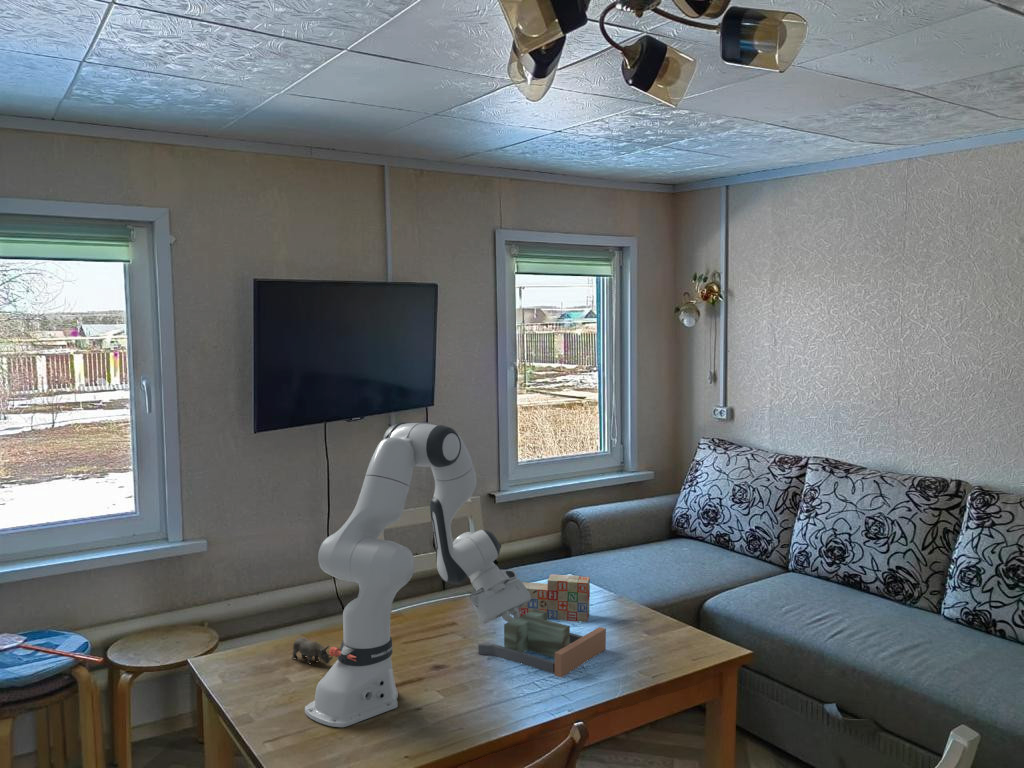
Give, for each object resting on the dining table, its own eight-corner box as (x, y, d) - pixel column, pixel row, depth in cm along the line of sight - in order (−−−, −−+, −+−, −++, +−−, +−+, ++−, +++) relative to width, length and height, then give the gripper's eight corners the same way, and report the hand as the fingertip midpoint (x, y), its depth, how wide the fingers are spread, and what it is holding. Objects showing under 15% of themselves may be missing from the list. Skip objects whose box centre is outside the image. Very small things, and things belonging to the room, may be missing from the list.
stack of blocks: (517, 617, 251) (517, 578, 250) (521, 610, 258) (521, 572, 257) (587, 622, 247) (587, 582, 246) (589, 615, 253) (590, 576, 252)
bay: (558, 679, 208) (558, 656, 207) (476, 653, 224) (476, 632, 224) (607, 648, 227) (607, 627, 227) (529, 627, 243) (529, 607, 243)
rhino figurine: (326, 671, 213) (325, 648, 213) (288, 659, 221) (288, 637, 220) (337, 665, 217) (337, 643, 216) (300, 654, 224) (300, 632, 224)
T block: (549, 666, 215) (549, 636, 215) (504, 653, 224) (504, 624, 224) (580, 648, 227) (580, 620, 227) (536, 636, 236) (536, 608, 236)
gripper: (473, 587, 225) (501, 630, 220) (518, 569, 242) (545, 609, 237) (461, 600, 229) (488, 642, 223) (506, 581, 245) (532, 620, 240)
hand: (518, 625), depth 230 cm, fingers closed
